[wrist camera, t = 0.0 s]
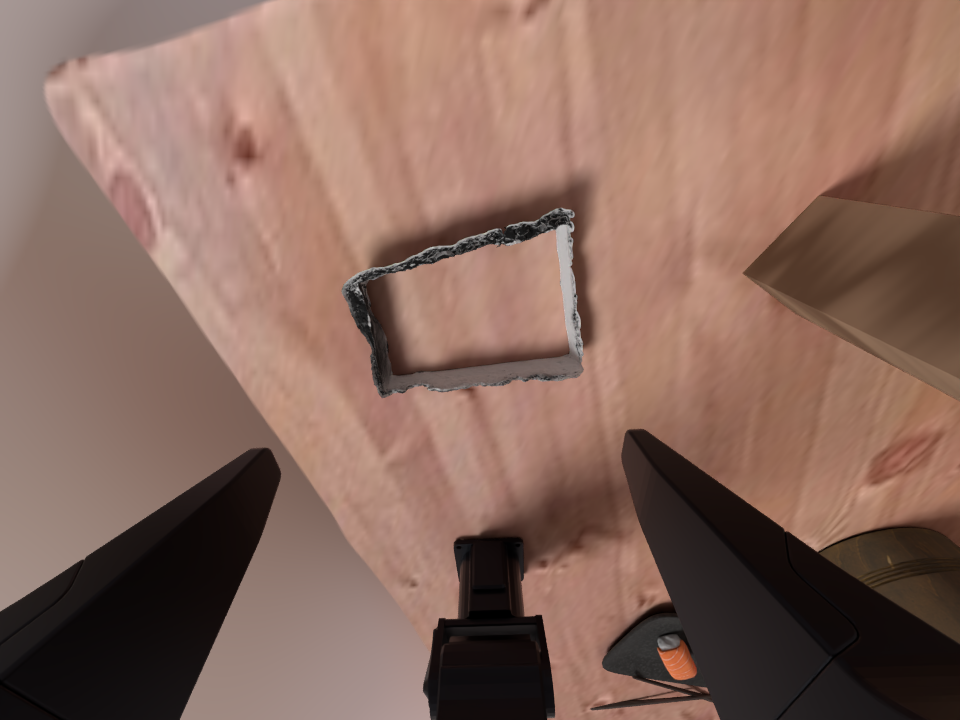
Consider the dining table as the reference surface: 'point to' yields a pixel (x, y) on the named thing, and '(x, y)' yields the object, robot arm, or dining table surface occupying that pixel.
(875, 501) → the dining table surface
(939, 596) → the wooden container
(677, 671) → the sushi plate
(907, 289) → the grey-green metal block
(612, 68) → the dining table surface
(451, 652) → the robot arm
